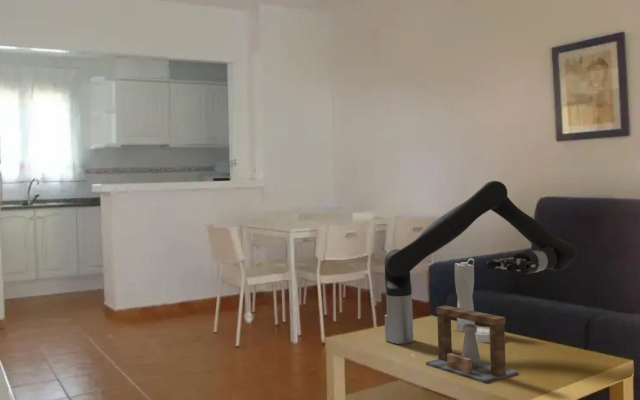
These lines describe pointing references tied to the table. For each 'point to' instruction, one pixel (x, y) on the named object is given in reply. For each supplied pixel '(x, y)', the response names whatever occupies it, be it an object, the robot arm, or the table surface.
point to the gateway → (463, 364)
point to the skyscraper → (464, 290)
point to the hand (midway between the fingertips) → (497, 266)
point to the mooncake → (483, 334)
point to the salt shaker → (471, 345)
